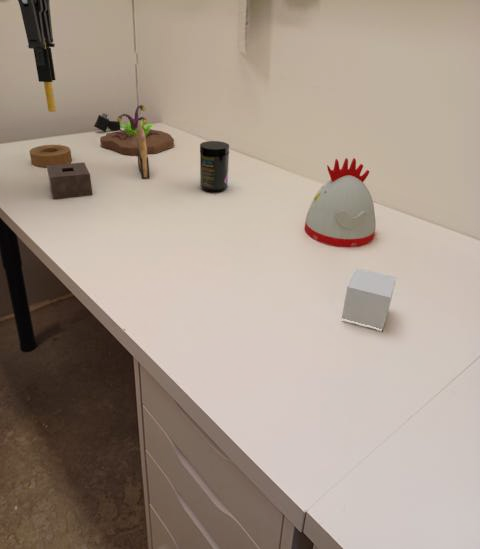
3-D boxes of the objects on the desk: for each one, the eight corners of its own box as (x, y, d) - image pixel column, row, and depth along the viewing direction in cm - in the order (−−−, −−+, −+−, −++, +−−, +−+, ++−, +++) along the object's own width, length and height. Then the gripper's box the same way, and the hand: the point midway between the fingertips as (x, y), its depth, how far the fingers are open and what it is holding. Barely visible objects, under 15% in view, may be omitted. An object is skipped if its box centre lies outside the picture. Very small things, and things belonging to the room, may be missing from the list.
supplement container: (225, 194, 111) (226, 150, 105) (197, 192, 111) (197, 148, 106) (230, 184, 117) (231, 142, 111) (203, 182, 117) (203, 140, 112)
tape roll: (26, 166, 122) (24, 155, 120) (38, 155, 130) (36, 144, 129) (66, 167, 122) (64, 156, 121) (75, 155, 131) (74, 145, 129)
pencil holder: (53, 199, 104) (49, 177, 102) (50, 186, 111) (46, 165, 108) (92, 195, 107) (89, 173, 105) (87, 182, 114) (84, 162, 111)
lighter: (113, 136, 157) (119, 122, 157) (116, 137, 156) (122, 123, 155) (92, 125, 151) (99, 110, 151) (95, 127, 150) (102, 112, 149)
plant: (186, 145, 143) (185, 107, 137) (133, 159, 130) (130, 117, 125) (143, 132, 154) (141, 96, 148) (91, 143, 141) (87, 104, 136)
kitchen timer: (298, 216, 101) (306, 147, 94) (361, 216, 103) (374, 148, 95) (313, 247, 90) (323, 170, 82) (383, 246, 91) (400, 171, 83)
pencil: (47, 111, 107) (35, 37, 99) (49, 110, 108) (37, 36, 100) (54, 111, 107) (43, 37, 99) (56, 110, 108) (45, 37, 100)
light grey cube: (388, 310, 73) (396, 277, 70) (382, 332, 68) (390, 297, 65) (349, 300, 75) (356, 267, 71) (340, 321, 70) (347, 286, 67)
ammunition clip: (149, 178, 118) (146, 129, 112) (142, 178, 117) (138, 129, 111) (145, 164, 127) (142, 119, 121) (138, 165, 126) (135, 119, 120)
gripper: (34, -51, 86) (55, 87, 98) (57, -46, 98) (73, 76, 111) (-9, -53, 86) (18, 85, 98) (20, -48, 98) (40, 74, 110)
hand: (47, 80), depth 104 cm, fingers closed on pencil, 1 cm apart
